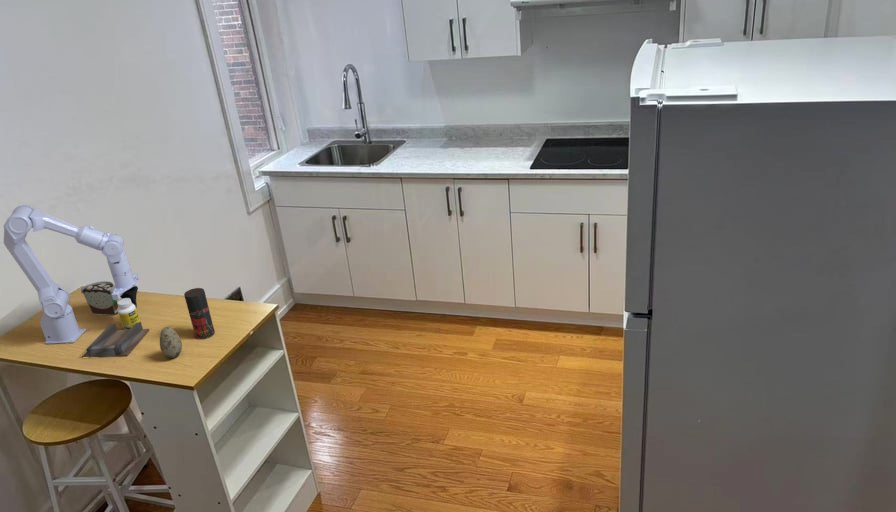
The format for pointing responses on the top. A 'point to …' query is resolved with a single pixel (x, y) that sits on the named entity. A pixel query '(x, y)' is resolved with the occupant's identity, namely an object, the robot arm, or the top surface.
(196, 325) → the deodorant
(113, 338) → the bottle rest
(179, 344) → the decorative egg
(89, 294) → the food container
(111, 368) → the top surface
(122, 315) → the supplement bottle
